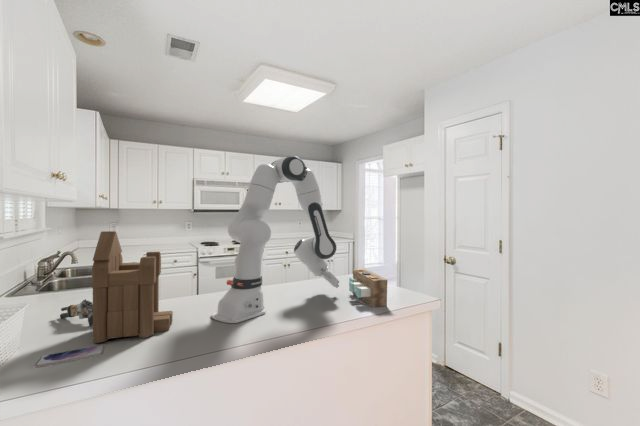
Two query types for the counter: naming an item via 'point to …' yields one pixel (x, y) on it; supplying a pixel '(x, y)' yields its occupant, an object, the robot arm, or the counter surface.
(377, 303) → the console
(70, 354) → the smartphone
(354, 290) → the plunger middle
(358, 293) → the plunger near
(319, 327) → the counter surface
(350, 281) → the plunger far
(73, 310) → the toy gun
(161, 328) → the castle structure
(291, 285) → the counter surface
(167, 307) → the counter surface
